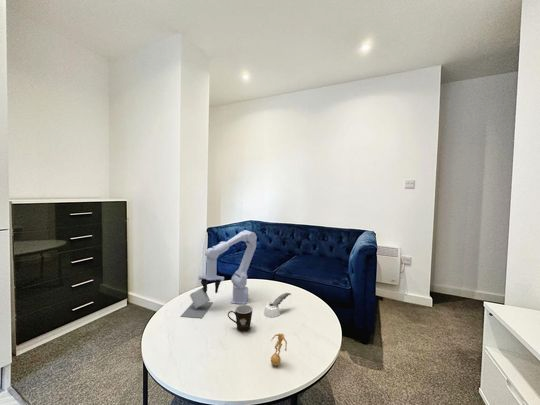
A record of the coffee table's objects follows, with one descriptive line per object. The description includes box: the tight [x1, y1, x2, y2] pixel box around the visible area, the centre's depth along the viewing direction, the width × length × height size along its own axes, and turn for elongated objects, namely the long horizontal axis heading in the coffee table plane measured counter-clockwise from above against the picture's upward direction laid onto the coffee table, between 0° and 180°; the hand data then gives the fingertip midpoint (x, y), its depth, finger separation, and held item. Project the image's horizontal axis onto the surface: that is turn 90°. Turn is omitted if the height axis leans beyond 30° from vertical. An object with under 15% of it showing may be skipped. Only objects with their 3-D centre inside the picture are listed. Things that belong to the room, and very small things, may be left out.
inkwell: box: [263, 292, 292, 318], centre depth 136 cm, size 9×18×10 cm, turn 123°
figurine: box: [270, 332, 288, 367], centre depth 95 cm, size 8×6×12 cm
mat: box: [180, 301, 214, 319], centre depth 136 cm, size 12×18×1 cm, turn 174°
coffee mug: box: [227, 304, 253, 333], centre depth 119 cm, size 12×9×10 cm
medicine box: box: [189, 287, 211, 309], centre depth 137 cm, size 8×4×9 cm
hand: (211, 292), depth 137 cm, fingers open, 6 cm apart
